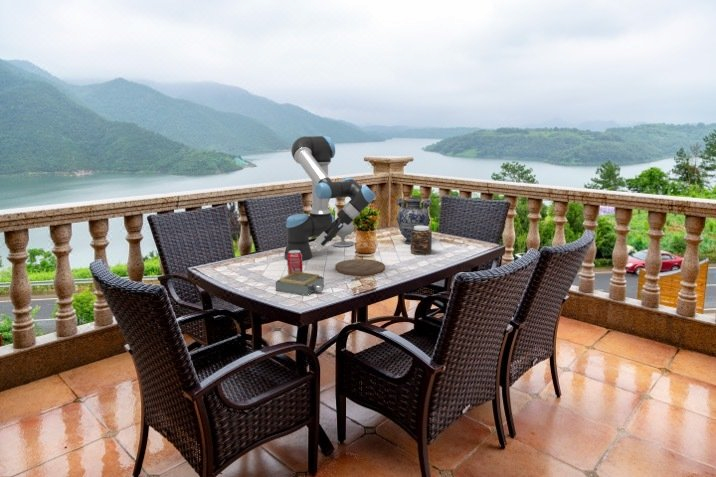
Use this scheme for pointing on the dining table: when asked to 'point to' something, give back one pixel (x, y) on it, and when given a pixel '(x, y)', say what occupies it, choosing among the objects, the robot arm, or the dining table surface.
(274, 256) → the dining table surface
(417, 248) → the jar
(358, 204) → the robot arm
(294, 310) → the dining table surface
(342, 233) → the chalice
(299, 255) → the soda can
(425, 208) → the decorative vase
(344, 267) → the trivet
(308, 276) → the grey framed box
